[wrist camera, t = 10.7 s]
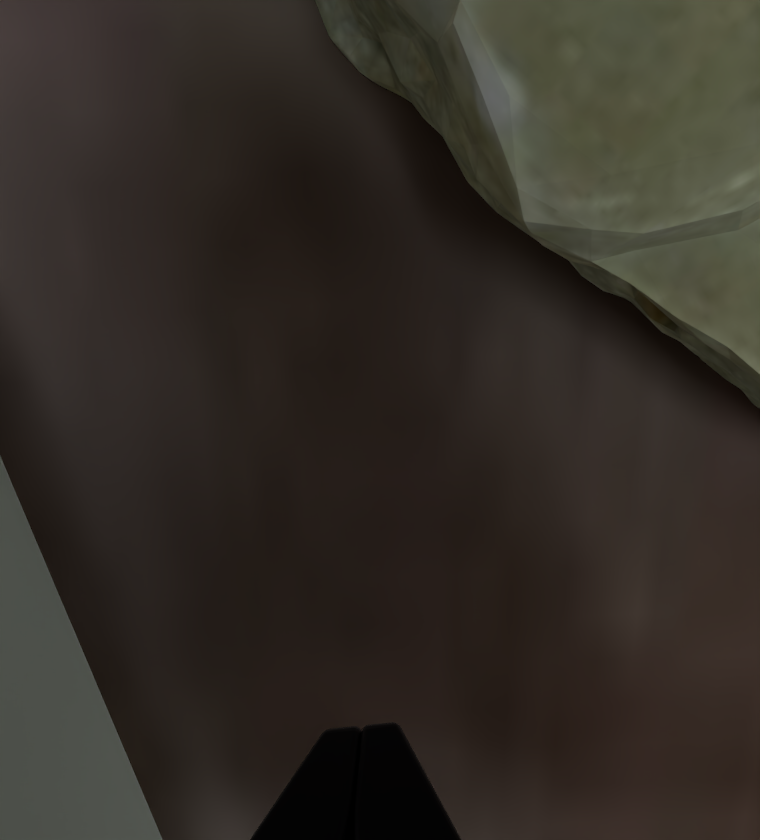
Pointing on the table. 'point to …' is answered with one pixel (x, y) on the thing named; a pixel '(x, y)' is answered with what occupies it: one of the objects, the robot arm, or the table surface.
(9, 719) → the sage plank
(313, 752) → the robot arm
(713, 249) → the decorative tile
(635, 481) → the table surface
